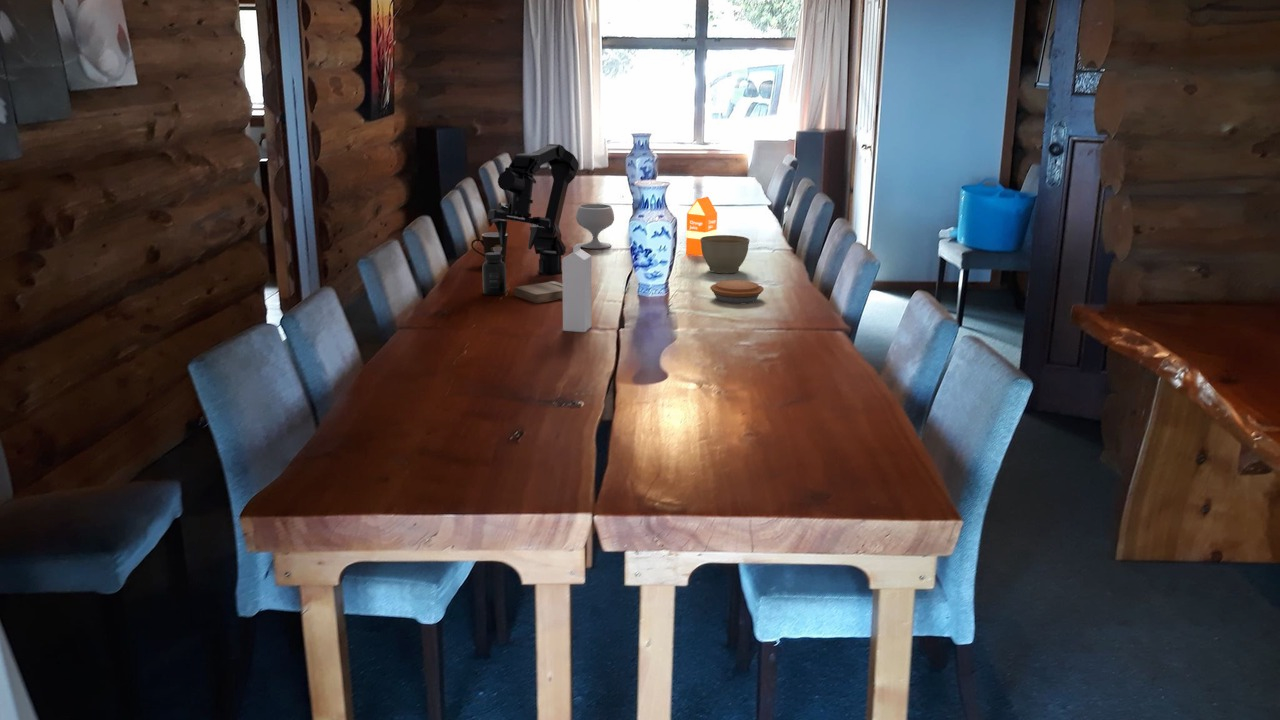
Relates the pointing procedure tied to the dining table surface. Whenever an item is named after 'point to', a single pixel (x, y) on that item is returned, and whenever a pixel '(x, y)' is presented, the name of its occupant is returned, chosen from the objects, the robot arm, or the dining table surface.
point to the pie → (736, 291)
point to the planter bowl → (724, 252)
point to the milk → (576, 290)
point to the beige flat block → (540, 292)
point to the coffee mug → (492, 244)
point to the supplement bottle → (494, 274)
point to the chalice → (595, 222)
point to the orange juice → (700, 224)
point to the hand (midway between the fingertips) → (516, 247)
